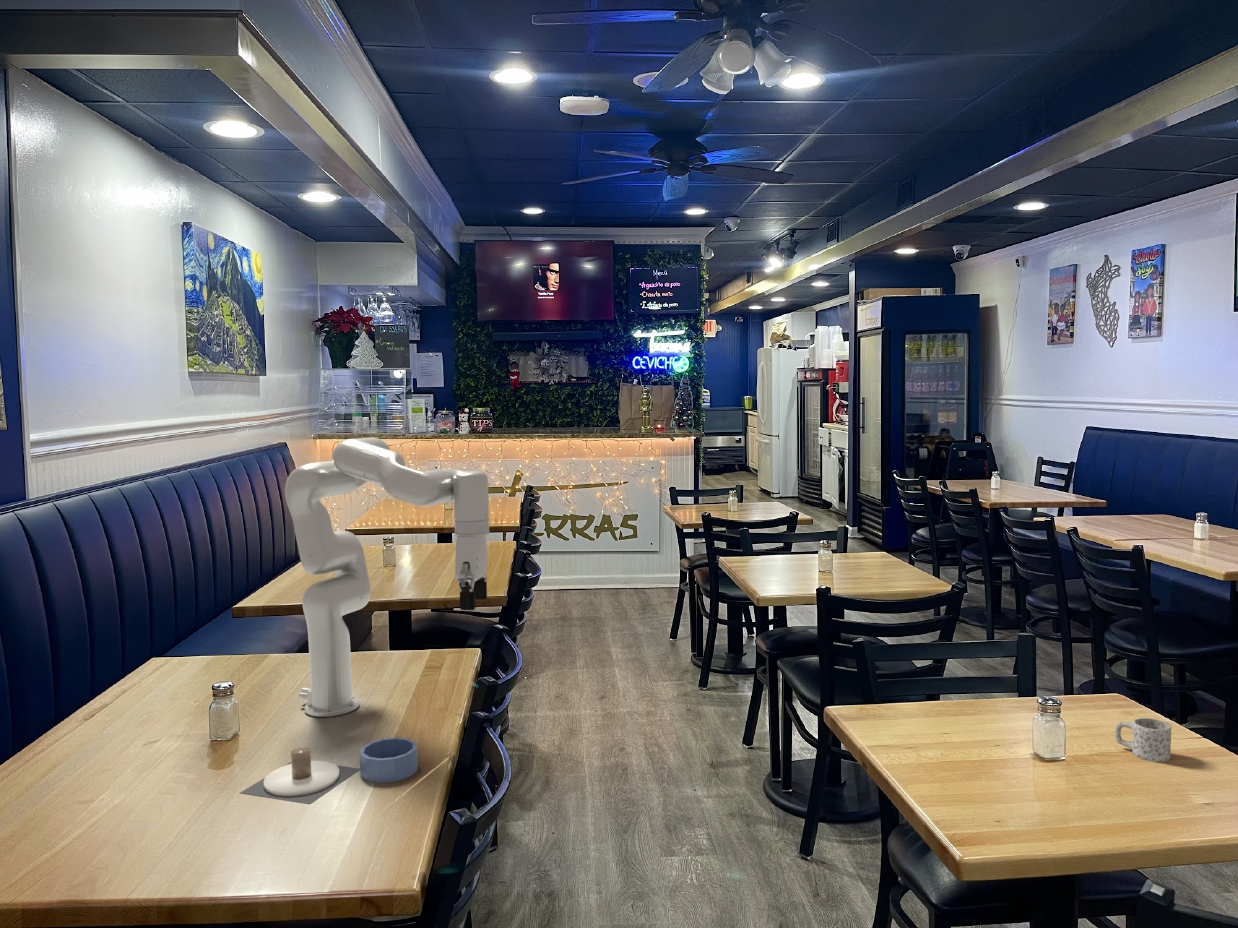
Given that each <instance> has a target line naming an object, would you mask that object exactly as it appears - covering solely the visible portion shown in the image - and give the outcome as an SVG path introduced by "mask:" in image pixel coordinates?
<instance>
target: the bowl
mask: <svg viewBox="0 0 1238 928" xmlns="http://www.w3.org/2000/svg"><path fill="white" fill-rule="evenodd" d="M418 764H419V763H418V743H417V742H416V741H414V740H412V739H410V738H405V737H397V736H396V737H387V738H381V739H377V740H374V741H370V742H368V743H366V744H365V745H364V746H362V747H360V751H359V766H360V767H359V768H360V770H359V771H360V777H361V778H362V779H364V780H365V781H366V782H371V783H377V784H378V783H379V784H383V783H392V782H393V783H395V782H399V781H401V780H404V779H407V778H410V777H411V776H413V775H414V774H415V773H416V772H418V766H419V765H418Z"/></svg>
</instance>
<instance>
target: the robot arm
mask: <svg viewBox="0 0 1238 928" xmlns="http://www.w3.org/2000/svg"><path fill="white" fill-rule="evenodd" d="M331 457H332V460H329V461H318V462H310V463H306V464H303V465H300V466H298V467H296V468H295V469H294V470H292V471H291V472H290V474H289V475H288V477H287V478H286V482H285V485H284V497H285V502H286V505H287V508H288V510H289V514H290V516H291V519H292V523H293V528H294V534H295V535H294V536H295V539H296V544H297V549H298V554H299V559H300V563H301V566H302V568H303V570H304V571H305V572H306V574H309V575H312V576H320V575H325V574H329V573H332V572H333V573H335V576H334V577H329V578H326V579H323V580H319V581H317V582H316V581H315V582H314V583H313V584H311V585H309V586H308V587H307V589H306V590H305V591H304V593H303V596H302V601H301V603H302V609H303V614H304V617H305V622H306V627H307V641H308V656H309V657H308V658H309V661H308V662H309V681H310V682H309V683H310V687H302V688H301V690H300V693H298V698H299V699H303V700H304V699H306V700H307V701H306V702H307V703H306V704H305V705H304V712H305V713H306V714H307V715H309V716H312V717H317V718H318V717H320V718H327V717H334V716H335V717H336V716H342V715H344V714H348V713H351V712H353V711H355V710H356V709H358V707H359V706H360V700H359V698H358V697H357V696H354V695H353V683H352V682H353V680H352V661H351V660H352V659H351V658H352V655H351V654H352V653H351V640H350V639H351V638H350V637H351V636H350V632H349V628H348V626H347V624H346V622H345V621H344V619H343V616H345V615H347V614H350V613H354V612H356V611H359V610H361V609H364V607H366V605H368V603H369V601H370V598H371V596H372V595H371V594H372V593H371V591H372V589H371V582H370V577H369V572H368V566H367V561H366V556H365V552H364V549H363V546H362V543H361V541H360V539H359V538H358V537H357V535H355V534H354V533H353V532H351V531H348V530H337V531H334V528H333V525H332V520H331V515H330V514H329V512H328V509H327V508H326V507H325V505H324V504H323V503H322V501H320V499H322V498H327V497H334V496H342V495H346V494H350V493H353V492H355V491H357V490H359V489H360V488H361V487H362V486H364V485H365V484H367V483H371V484H374V485H377V486H379V487H383V489H384V490H385V491H386V493H388V494H389V496H391V497H392V498H394V499H397V500H398V501H399V500H400V501H402V502H404V503H408V504H411V505H414V506H419V507H432V506H437V505H441V504H449V503H452V502H453V513H454V514H453V516H454V517H453V518H454V520H453V521H454V522H453V523H454V524H453V525H454V527H453V529H454V536H455V537H456V541H455V560H454V561H455V567H454V569H455V571H454V579H455V580H456V581H457V582H459V583H458V585H459V588H458V589H459V590H458V591H459V609H460V611H474V610H475V609H476V600H487V599H488V587H487V586H488V582H487V580H488V579H487V578H488V577H487V572H488V547H487V544H488V543H487V535H489V534H490V509H489V508H490V506H489V503H490V502H489V477H488V475H487V473H486V472H484V471H481V470H459V469H456V468H443V469H437V470H436V469H434V470H427V471H419V470H417V469H412V468H409V467H406V463H405V462H406V461H405V459H404V456H403V455H402V454H400V453H399V452H398V451H395V450H391V449H390V446H389V445H388V444H387V442H386V441H384V440H382V439H380V438H378V437H363V438H362V437H360V438H350V439H346V440H343V441H341V442H339V444H337V445H336V446H335V448H334V449H333V452H332V456H331Z"/></svg>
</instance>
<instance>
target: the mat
mask: <svg viewBox="0 0 1238 928" xmlns="http://www.w3.org/2000/svg"><path fill="white" fill-rule="evenodd" d="M289 764H292V763H291V761H290V762H288V763H287V764H285V765H284V766H286V765H289ZM335 765H336V766H337V767H338V768H339V779H338V780H337V781H336V782H335V783H334V784H333V785H331V786H330V787H328V788H326V789H324V790H321V791H318V792H315V793H312V794H307V795H302V796H293V797H283V796H276V795H272V794H269V793H268V792H266V791H265V789H264V779H265V777H263V778H262V779H260V780H259V781H257V782H255V783H254V784H252V785H250V786H248V788H246V789H244V790H242V791H241V792H239V794H242V795H249V796H256V797H261V798H268V799H274V800H281V801H287V802H292V803H301V804H306V805H311V804H313V803H314V802H316V801H317V800H319V799H320V798H322V797H323V796H324V795H326V794H327V793H329V792H330V791H332V790H333V789H334V788H336V787H337V786H339V785H341V784H342V783H344V781H346V780H348V779H349V778H350V777H352V776H353V775H354V774H356V773H358V772H359V771H360V767H359V768H357V767H353V766H345V765H338V764H335Z"/></svg>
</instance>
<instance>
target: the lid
mask: <svg viewBox="0 0 1238 928" xmlns="http://www.w3.org/2000/svg"><path fill="white" fill-rule="evenodd" d="M311 753H312V751H311V748H310V747H304V746H303V747H297V748H294V749H292V750H291V751H290V759H291V761H290V762H291V763H292V764H289V765H287V764H285V765H286V766H285V765H283V766H281V767H278V768H275V769H274V770H272V771H271V772H269V773H268V774H267V775H266V776H265V777H264V778H265V779H264V789H265V791H266V792H268V793H269V794H272V795H276V796H283V797H293V796H302V795H307V794H312V793H315V792H318V791H321V790H324V789H326V788H328V787H330V786H331V785H333V784H334V783H335V782H336V781H337V780H338V779H339V768H338V767H337V766H336V765H337V764H335V763H332V762H329V761H323V760H312V754H311Z"/></svg>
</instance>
